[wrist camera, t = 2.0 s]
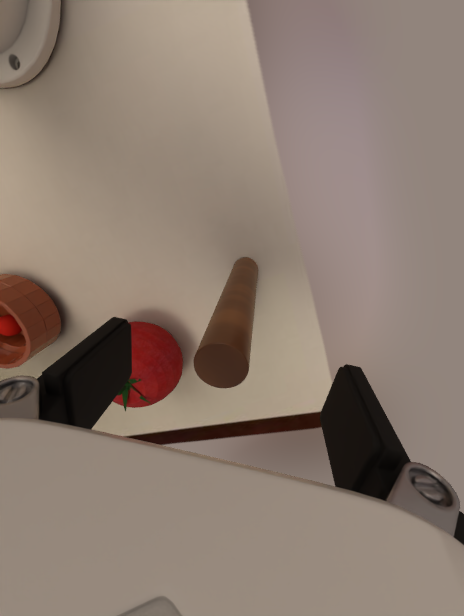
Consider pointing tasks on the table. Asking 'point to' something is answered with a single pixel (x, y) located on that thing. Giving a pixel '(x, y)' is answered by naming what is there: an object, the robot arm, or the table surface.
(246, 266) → the stirring stick
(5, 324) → the cherry tomato
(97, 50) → the table surface
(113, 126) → the table surface
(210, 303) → the table surface
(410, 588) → the robot arm
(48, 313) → the bowl
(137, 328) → the tomato
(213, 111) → the table surface
